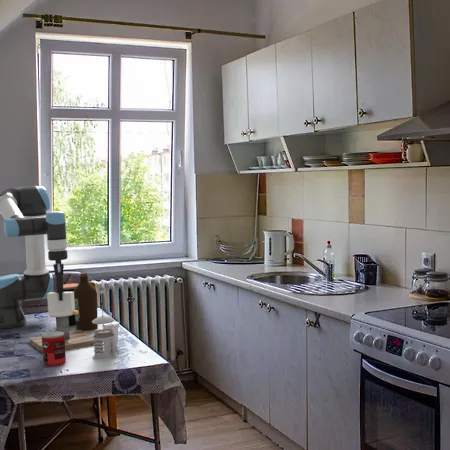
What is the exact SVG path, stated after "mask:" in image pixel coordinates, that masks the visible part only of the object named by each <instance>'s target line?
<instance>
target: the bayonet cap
mask: <svg viewBox="0 0 450 450" xmlns="http://www.w3.org/2000/svg"><path fill="white" fill-rule="evenodd" d="M46 300H47V312H48V316H49V317H50V318H56V317H65V316H70V315H73V314H78V310H75V302H74V292H64V303H65V308H61V309H58V303H57V293H55V291H52V292H50V293H47V298H46Z"/></svg>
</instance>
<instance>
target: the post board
mask: <svg viewBox="0 0 450 450" xmlns="http://www.w3.org/2000/svg"><path fill="white" fill-rule="evenodd" d="M55 326H56V331H60V332H64V337H65V351H69V350H74V349H75V350H76V349H80V348H85V347H90V346H91V347H92V346H94V343H95V342H94V339H93V336H94V335H92V334H90V333H87V331H82V330H77V329H76V330H72V331H70V326H69V318H68V316H65V317H55ZM28 342H29V345H32V346H33V347H34V348H36V349H37V350H38V351H39V352H41V353H43V349H42V335H41V336H40V335H39V336H35V337H29V338H28Z"/></svg>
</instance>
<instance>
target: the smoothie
mask: <svg viewBox="0 0 450 450" xmlns="http://www.w3.org/2000/svg"><path fill="white" fill-rule="evenodd" d="M109 316H110V317H111V318H113V317H112V312H109ZM112 325H113V326H115V328H116V329H115V328H114V327H113V326H112ZM108 326H110V327H111V328H112V330H113V332H114V335H115V343H116V344H115V349H117V348H118V340H119V339H118V340H117V333H118V334H119V327H120V322H119V321H113V322H111V323H107V324H104V329H108ZM110 327H109V329H111V328H110ZM116 330H117V332H116ZM113 332H112V333H113ZM111 338H112V337H110V339H111ZM116 341H117V342H116ZM110 342H112V340H111V341H110ZM110 345H111V344H110ZM111 349H112V347H111Z"/></svg>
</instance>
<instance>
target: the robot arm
mask: <svg viewBox="0 0 450 450" xmlns="http://www.w3.org/2000/svg"><path fill="white" fill-rule="evenodd" d="M50 202H51V201H50V198H49V194H48V191H47V188H45V187H44V186H41V185H29V186H11V187H7V188H5V189H3V190H1V191H0V215H1V216H2V218H3V219H4V221H3V232H4V235H5V237H7V238H17V237H20V238H21V237H24V238H25V259H26V261H25V262H26V269H25V271H23V276H20V275H19V274H18V273H12V274H7V275H3V276H0V329H1V330H3V329H2V328H7V329H14V328H19V327H22V326H25V325H26V324H27V318H26V316H25V313H24V311H23V309H22V302H27V301H28V302H29V301H37V300H43V299H44V300H45V299H47V293H50V292H55V293H57V303H58V309H61V308H65V303H64V289H65V287H63V284H64V278H63V276H64V268H65V266H64V263H62V261H64V260H67V259H68V249H67V247H68V245H67V244H69V241H68V240H67V227H66V225H67V224H66V223H67V222H66V221H67V219H66V213H65V212H64V211H49V210H50V209H51V207H50V206H51V203H50ZM45 235H46V242H47V243H46V245H47V250H48V252H47V256H48V258H47V259H48V261H51V262H53V261H54V262H55V263H54V264H53V266H52V267H53V271H54V276H55V282H56V285H55V289H56V290H55V291H54V277H53V274H52V273H50V270H49V269H48V268H47V267H46V254H45V253H46V250H45V249H46V248H45V246H46V245H45Z"/></svg>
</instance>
